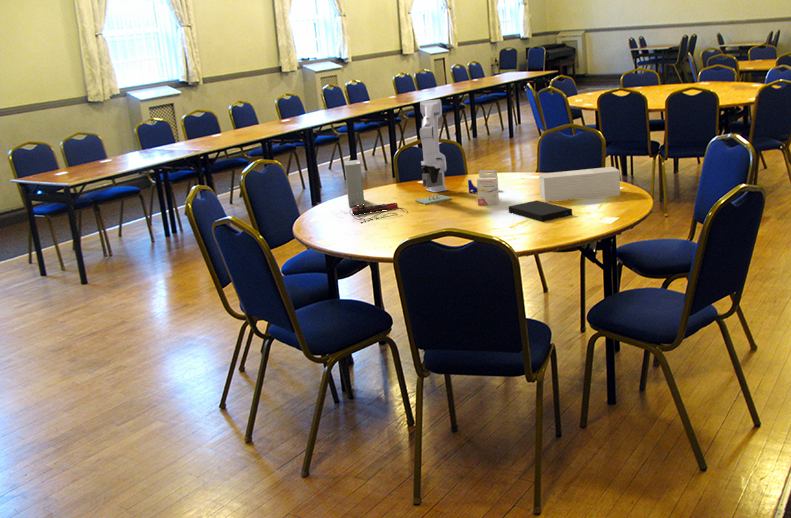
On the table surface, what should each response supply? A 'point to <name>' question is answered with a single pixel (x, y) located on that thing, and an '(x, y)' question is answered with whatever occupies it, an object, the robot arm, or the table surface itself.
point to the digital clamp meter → (374, 209)
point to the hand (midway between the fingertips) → (431, 182)
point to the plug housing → (428, 183)
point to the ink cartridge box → (487, 188)
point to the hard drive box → (354, 182)
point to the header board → (433, 199)
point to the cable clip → (471, 187)
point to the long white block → (580, 184)
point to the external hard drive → (540, 211)
